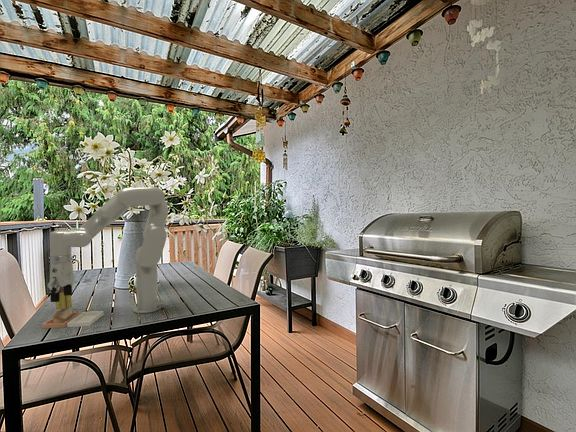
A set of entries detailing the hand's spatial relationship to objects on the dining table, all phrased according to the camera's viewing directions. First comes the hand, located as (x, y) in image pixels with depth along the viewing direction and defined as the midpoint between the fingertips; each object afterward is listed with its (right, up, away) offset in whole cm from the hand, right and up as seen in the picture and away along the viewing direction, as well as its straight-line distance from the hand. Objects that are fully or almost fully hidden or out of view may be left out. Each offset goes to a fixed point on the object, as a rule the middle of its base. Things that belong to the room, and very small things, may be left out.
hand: (61, 298), depth 137 cm
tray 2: (+10, -11, +2) cm, 15 cm away
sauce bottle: (-10, -11, +15) cm, 21 cm away
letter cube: (0, -10, 0) cm, 10 cm away
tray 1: (0, -11, +1) cm, 11 cm away
